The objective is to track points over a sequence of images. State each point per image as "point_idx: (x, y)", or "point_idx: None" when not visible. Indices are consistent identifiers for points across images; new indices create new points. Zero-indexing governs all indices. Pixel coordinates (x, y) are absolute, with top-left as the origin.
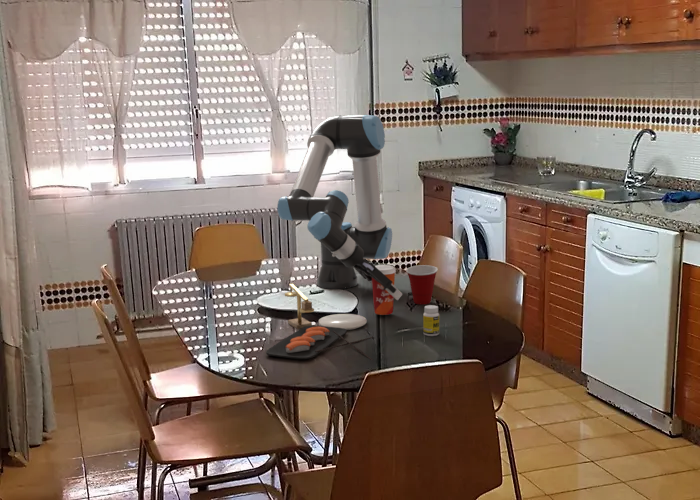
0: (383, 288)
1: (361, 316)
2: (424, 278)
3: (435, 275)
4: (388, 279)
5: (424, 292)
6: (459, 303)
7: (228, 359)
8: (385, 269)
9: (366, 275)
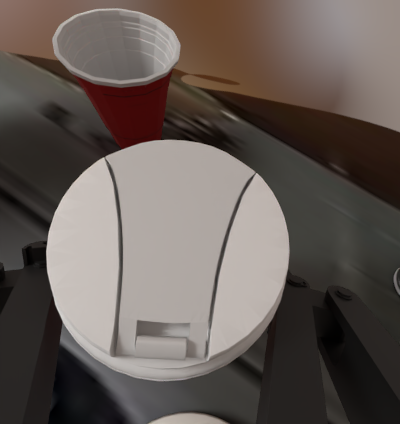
0: (268, 328)
1: (179, 419)
2: (165, 81)
3: (157, 48)
4: (375, 325)
5: (161, 121)
6: (199, 99)
7: None
8: (272, 257)
9: (52, 368)
